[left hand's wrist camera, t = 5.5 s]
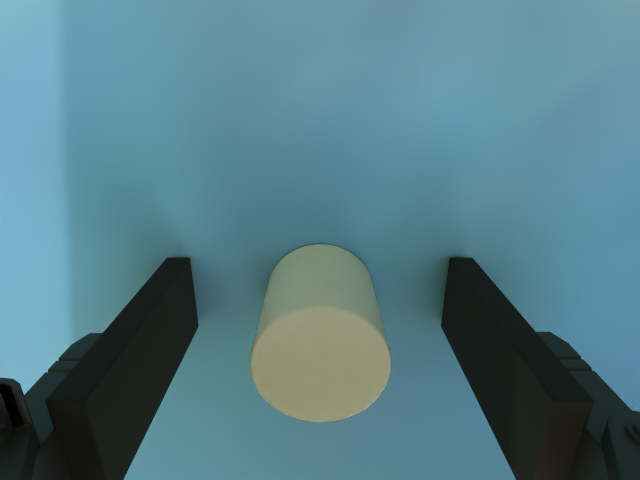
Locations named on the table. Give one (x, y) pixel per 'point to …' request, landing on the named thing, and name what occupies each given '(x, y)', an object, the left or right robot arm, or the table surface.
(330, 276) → the cylinder
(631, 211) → the table surface
